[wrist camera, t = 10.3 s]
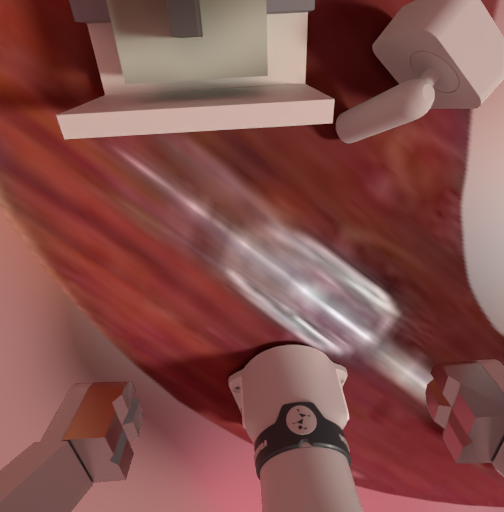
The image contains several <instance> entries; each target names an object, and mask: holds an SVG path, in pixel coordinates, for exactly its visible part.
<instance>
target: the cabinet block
mask: <svg viewBox="0 0 504 512" xmlns="http://www.w3.org/2000/svg"><path fill="white" fill-rule="evenodd" d="M106 1H107V5H108V10H109V14H110V19H111V23H112V28H113V32H114V37H115V41H116V45H117V50H118V54H119V59H120V63H121V68H122V72H123V77H124V81H125V84H134V83H151V82H169V81H186V80H204V79H221V78H239V77H256V76H268V60H267V5H266V0H106Z"/></svg>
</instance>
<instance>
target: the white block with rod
mask: <svg viewBox="0 0 504 512" xmlns="http://www.w3.org/2000/svg"><path fill="white" fill-rule="evenodd" d="M372 49H373V52H374V54H375V55H376V57H377V58H378V59H379V60H380V62H381V63H382V64H383V65H384V66H385V68H386V69H387V70H388V71H389V72H390V74H391V75H392V76H393V77H394V78H395V80H396V81H397V82H398V83H399V85H397V86H395V87H393V88H391V89H389V90H387V91H385V92H383V93H381V94H379V95H377V96H375V97H373V98H371V99H369V100H367V101H365V102H363V103H361V104H359V105H357V106H355V107H353V108H351V109H349V110H347V111H345V112H343V113H341V114H340V115H339V116H338V118H337V120H336V132H337V134H338V136H339V138H340V139H341V140H342V141H343V142H345V143H353V142H356V141H359V140H362V139H364V138H367V137H370V136H373V135H375V134H378V133H381V132H384V131H386V130H389V129H392V128H395V127H397V126H400V125H403V124H405V123H408V122H411V121H413V120H416V119H418V118H420V117H422V116H423V115H424V114H426V113H427V112H428V110H429V109H430V108H441V109H473V108H478V107H479V106H480V105H481V104H482V103H483V102H484V101H485V100H486V98H487V97H488V96H489V95H490V94H491V93H492V92H493V91H494V90H495V88H496V87H497V86H498V85H499V84H500V83H501V82H502V81H503V80H504V37H503V36H502V34H501V32H500V31H499V29H498V27H497V26H496V24H495V22H494V21H493V19H492V18H491V16H490V14H489V13H488V11H487V10H486V8H485V6H484V5H483V3H482V2H481V0H415V1H413V2H411V3H409V4H407V5H405V6H403V7H402V8H401V9H400V10H399V11H398V13H397V14H396V15H395V17H394V18H393V19H392V20H391V22H390V23H389V24H388V26H387V27H386V28H385V29H384V31H383V32H382V33H381V35H380V36H379V37H378V38H377V40H376V41H375V42H374V43H373V45H372Z"/></svg>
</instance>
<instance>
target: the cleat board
mask: <svg viewBox="0 0 504 512" xmlns="http://www.w3.org/2000/svg"><path fill="white" fill-rule="evenodd" d="M69 2H70V6H71V9H72V13H73V17H74V21H75V22H79V23H86V24H87V26H88V30H89V34H90V38H91V42H92V46H93V49H94V53H95V57H96V61H97V65H98V69H99V73H100V77H101V81H102V85H103V89H104V93H105V95H104V96H102V97H99V98H97V99H94V100H92V101H89V102H87V103H85V104H82V105H80V106H77V107H75V108H72V109H70V110H67V111H65V112H63V113H60V114H58V115H56V116H57V119H58V122H59V125H60V128H61V131H62V134H63V137H64V139H77V138H94V137H110V136H127V135H144V134H161V133H178V132H195V131H212V130H229V129H246V128H262V127H279V126H296V125H313V124H330V123H333V114H334V102H335V99H334V98H332V97H330V96H328V95H326V94H324V93H322V92H320V91H318V90H316V89H314V88H312V87H311V86H309V85H307V84H305V80H306V53H307V26H308V12H310V11H312V10H315V0H266V5H267V60H268V76H256V77H239V78H221V79H204V80H186V81H169V82H151V83H134V84H125V81H124V77H123V72H122V68H121V63H120V59H119V54H118V50H117V45H116V41H115V37H114V32H113V28H112V23H111V19H110V14H109V10H108V5H107V1H106V0H69Z"/></svg>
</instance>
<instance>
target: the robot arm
mask: <svg viewBox="0 0 504 512" xmlns="http://www.w3.org/2000/svg"><path fill="white" fill-rule="evenodd" d="M431 375H432V376H433V378H434V379H433V380H432V381H431V382H430V383H428V384H427V388H426V402H427V406H428V409H429V412H430V414H431V416H432V418H433V420H434V421H435V422H436V423H438V424H439V425H440V426H442V427H443V428H444V433H443V439H444V441H445V443H446V444H447V446H448V448H449V450H450V452H451V454H452V456H453V458H454V460H455V461H456V463H492V465H493V466H494V467H495V468H496V469H497V470H499V471H500V472H501V473H502V474H503V475H504V366H503V365H502V364H501V363H500V362H499V361H497V360H495V359H494V360H477V361H458V362H444V363H436V364H434V365H433V366H432V370H431ZM346 378H347V370H346V368H345V367H343V366H341V365H338V364H336V363H333V362H332V361H331V360H330V359H329V358H328V357H327V356H326V355H325V354H324V353H322V352H321V351H319V350H317V349H315V348H312V347H309V346H303V345H283V346H278V347H274V348H271V349H268V350H266V351H263V352H261V353H260V354H258V355H257V356H255V357H254V358H253V359H251V360H250V361H249V363H248V364H247V365H246V366H245V367H244V368H243V369H242V370H240V371H238V372H236V373H235V374H233V375H231V376H230V377H229V378H228V383H229V387H230V389H231V392H232V394H233V396H234V398H235V401H236V403H237V405H238V407H239V409H240V412H241V414H242V423H243V428H244V429H246V431H247V434H248V435H249V437H250V438H251V440H252V441H253V443H254V447H255V448H254V450H255V454H254V459H255V467H256V472H257V476H258V478H259V479H260V483H261V496H262V511H263V512H363V509H362V506H361V503H360V500H359V497H358V493H357V490H356V487H355V484H354V480H353V477H352V474H351V470H350V466H351V458H350V454H349V452H350V451H349V447H348V443H347V441H346V439H345V436H344V432H343V428H344V427H345V426H346V424H347V421H348V420H349V413H348V409H347V405H346V401H345V397H344V394H343V390H342V387H343V385H344V383H345V381H346ZM134 393H135V387H134V385H133V382H101V383H78V384H74V385H73V386H72V387H71V388H70V389H69V391H68V393H67V395H66V396H65V398H64V400H63V402H62V403H61V405H60V407H59V409H58V411H57V412H56V414H55V416H54V418H53V420H52V421H51V423H50V425H49V427H48V429H47V430H46V432H45V434H44V436H43V438H42V440H41V441H40V442H36V443H33V444H32V445H31V446H30V447H28V448H27V449H26V450H25V451H23V452H22V453H21V454H20V455H19V456H17V457H16V458H15V459H14V460H13V461H11V462H10V463H9V464H8V465H7V466H5V467H4V468H3V469H2V470H1V471H0V512H71V511H72V510H73V509H74V507H75V506H76V505H77V504H78V502H79V501H80V500H81V499H82V498H83V496H84V495H85V494H86V493H87V491H88V490H89V489H90V488H91V487H92V485H93V484H92V483H95V482H107V481H120V480H126V477H127V474H128V471H129V467H130V464H131V460H132V457H133V451H132V448H131V444H132V443H133V442H134V441H135V440H136V439H137V438H138V437H139V434H140V430H141V426H142V416H143V413H142V406H141V403H140V401H139V400H138V399H136V398H135V397H134Z"/></svg>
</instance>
